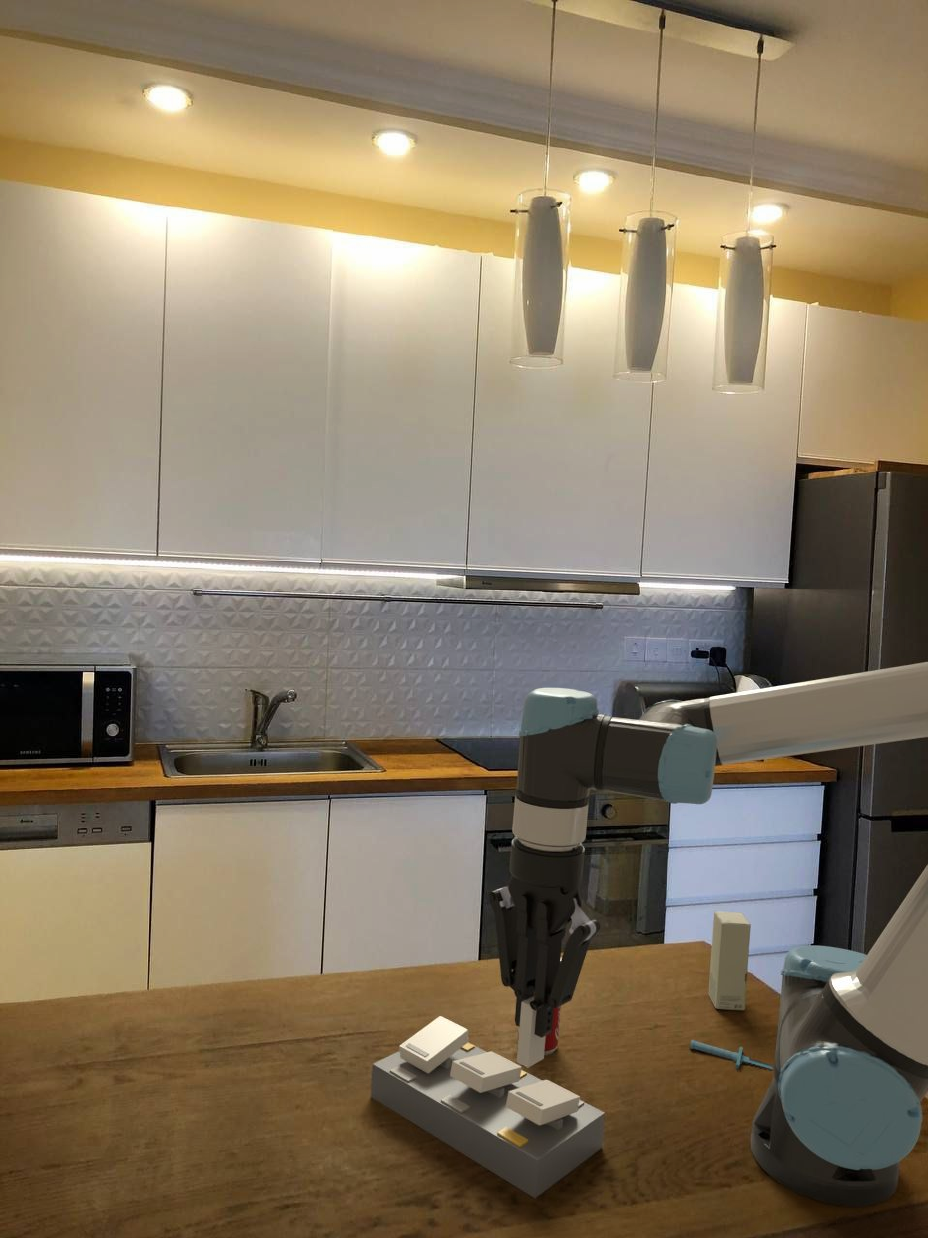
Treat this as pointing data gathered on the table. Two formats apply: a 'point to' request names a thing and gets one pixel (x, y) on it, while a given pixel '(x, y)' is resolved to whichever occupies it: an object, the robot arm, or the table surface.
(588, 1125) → the console
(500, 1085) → the rocker
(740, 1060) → the knife
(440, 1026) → the block
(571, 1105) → the rocker
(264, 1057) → the table surface
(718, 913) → the box
